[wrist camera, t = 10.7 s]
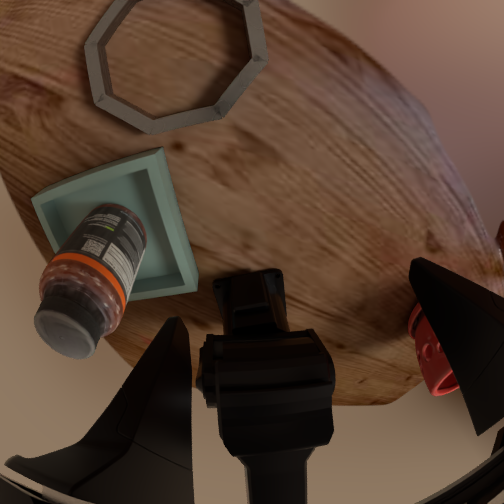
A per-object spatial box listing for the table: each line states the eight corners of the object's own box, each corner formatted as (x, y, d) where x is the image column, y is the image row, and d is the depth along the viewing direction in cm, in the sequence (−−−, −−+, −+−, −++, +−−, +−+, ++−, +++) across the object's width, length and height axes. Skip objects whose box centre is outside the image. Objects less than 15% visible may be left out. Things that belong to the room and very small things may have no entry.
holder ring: (272, 109, 18) (276, 110, 16) (113, 145, 17) (105, 149, 16) (247, -31, 11) (249, -39, 10) (88, 11, 11) (80, 7, 10)
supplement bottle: (98, 265, 22) (51, 366, 13) (77, 206, 19) (1, 297, 10) (156, 259, 23) (126, 372, 13) (140, 195, 19) (79, 294, 10)
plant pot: (437, 258, 27) (495, 328, 17) (477, 277, 31) (520, 330, 21) (379, 334, 33) (414, 406, 23) (429, 338, 37) (460, 393, 27)
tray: (198, 272, 25) (197, 291, 22) (93, 290, 24) (85, 306, 22) (162, 146, 18) (155, 154, 16) (45, 187, 18) (30, 198, 16)
